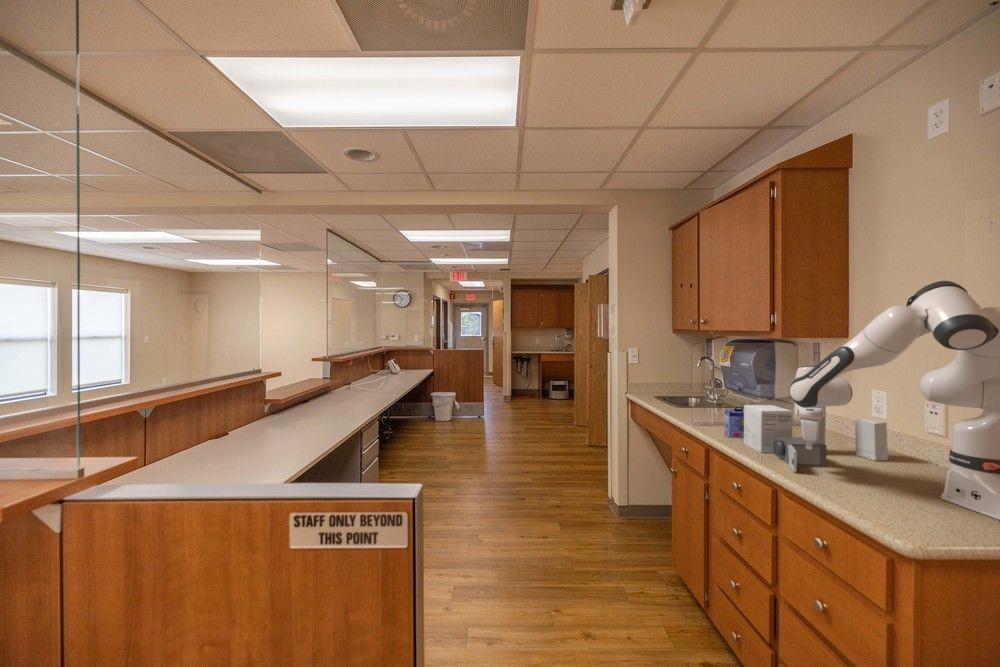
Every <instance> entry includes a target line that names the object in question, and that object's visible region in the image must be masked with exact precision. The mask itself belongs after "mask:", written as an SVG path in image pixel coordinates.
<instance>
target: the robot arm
mask: <svg viewBox="0 0 1000 667" xmlns="http://www.w3.org/2000/svg"><path fill="white" fill-rule="evenodd" d="M929 333H930V334H931V333H932V335H933V336H932V337H933V338H934V340H936V341H937V343H939V344H940V345H942V346H943V347H944V348H946V349H949V350H955V351H957V353H956V355H955V358H954V359H953V360H952V361H951V362H949V363H948V364H946V365H944V366H942V367H940V368H937V369H934V370H929V371H928V372H926V373H925V374H923V376H921V378H920V380H919V391H920V393H921V395H922V396H923V397H924V398H925V399H926V400H927V401H929V402H932V403H936V404H937V403H938V404H940V405H945V406H953V407H963V408H975V409H982V410H983V411H982V413H981V414H980V415H978V416H975V417H972V418H967V419H963V420H960V421H958V422H956V423H955V424H954V425H953V426H952V429H951V430H952V431H951V448H950V449H949V452H948V453H949V454H948V461H949V463H950V465H949V468H948V470H947V473H946V476H945V477H946V478H945V483H944V489H943V491H942V493H941V495H940V499H941V500H944V501H946V502H949V503H951V504H955V505H957V506H960V507H963V508H965V509H968V510H971V511H974V512H977V513H979V514H982V515H984V516H985V515H986V516H987V517H990V518H992V519H995V520H999V521H1000V307H998V306H987V307H983V308H982V307H981V306H980V304H979V303H977V301H976V300H975V299H974V298H973V297H972V296H971V295H970V294H969V293H968V291H967V289H966V288H964V287H963V286H962V285H961V284H958V283H956V282H954V281H950V280H940V281H935V282H932V283H930V284H927V285H925V286H923V287H921V288H920V289H919V290H917V291H916V292H915V293H914V294H913V295H911V296H910V297H909V298H908V299H907V301H906V305H901V304H900V305H898V304H897V305H893V306H890V307H889V308H887V309H886V310H884V311H882V312H881V313H880V314H878V315H877V316H876V317H875V318H874V319H872V320H871V321H870V322H869V323H868V324H867V325H865V327H864V328H863V329H862V330H861V331H860V332H859V333H858V334H856V335H855V336H854V337H853V338H852V339H850V340H849V341H848V342H846V343H844V344H843V345H842V346H840V347H838V348H837V349H835V350H833V351H832V352H831V353H829V354H828V355H827V356H826V357H824V358H823V359H822V360H821V361H820V362H819V363H817V364H816V365H804V366H800V367H798V368H797V370H796V374H795V379H794V380H793V381H792V382H791V383H790V386H789V391H788V393H789V397H790V398H791V400H792V401H793V402H794V415H797V416H798V420H800V426H801V435H802V437H803V440H804V441H806V449H810V450H811V449H812V443H813V442H816V440H817V435H818V428H819V422H820V420H821V419H822V418H823V417H824V416H825V406H826V407H838V406H839V407H840V406H846V405H848V404H849V403H850V401H851V400H852V399H853V389H852V386H851V384H850V383H849V382H848V381H847V380H846V379H844V378H839V376H840V375H843V374H845V373H848V372H851V371H855V370H859V369H860V370H861V369H866V368H873V367H881V366H885V365H887V364H888V363H890V362H892V361H894V360H896V359H897V358H898V357H900V356H901V355H902V354H904V352H905V351H907V349H908V348H909V347H910V346H911V345H912V344H913V343H914V342H915V341H916V340H917V339H918V338H920V337H921V336H924V335H926V334H929Z"/></svg>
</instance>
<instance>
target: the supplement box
mask: <svg viewBox="0 0 1000 667" xmlns="http://www.w3.org/2000/svg"><path fill="white" fill-rule="evenodd" d="M743 410H744V438H743V445H745V446H746V447H749V448H751V449H753V450H754V451H757V452H759V453H764V454H765V453H767V454H768V453H770V454H772V453H773V454H776V453H775V452H774V448H773V444H774V441H776V436H781V437H793V420H794V419H793V418H794V417H793V416H794V415H793V414H794V413H793V412H794V411H793V410H790V409H786V408H783V407H781V406H780V407H779V406H776V405H774V404H773V405H772V404H770V405H769V404H764V405H762V404H744V405H743Z"/></svg>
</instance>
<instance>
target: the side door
mask: <svg viewBox="0 0 1000 667" xmlns="http://www.w3.org/2000/svg"><path fill="white" fill-rule="evenodd" d="M787 464H788V465H789V466H790V468H791V470H792V472H793V473H797V467H798V465H797V452H796V450H795V449H794V448H793V446H792V445H790V444H788V463H787Z"/></svg>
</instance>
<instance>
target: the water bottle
mask: <svg viewBox="0 0 1000 667" xmlns="http://www.w3.org/2000/svg"><path fill="white" fill-rule="evenodd" d="M826 407H827V406H825V416H824V417H823V418H822V419H821V420H820V422H819V428H818V435H817V440H816V441H818V442H820V443H822V444H825V445H826V419H827V418H826V416H827V415H826V414H827V412H826V411H827V410H826Z"/></svg>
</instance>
